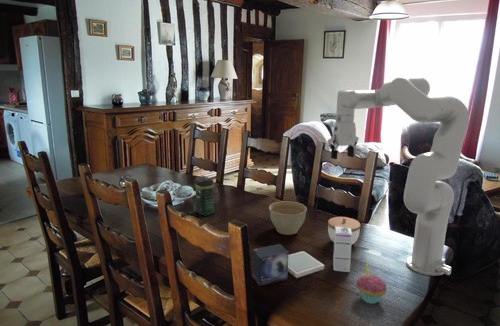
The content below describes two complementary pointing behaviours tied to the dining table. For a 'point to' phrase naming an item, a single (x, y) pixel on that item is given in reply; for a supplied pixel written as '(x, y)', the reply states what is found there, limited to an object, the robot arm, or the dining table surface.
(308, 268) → the plate
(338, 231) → the syrup box
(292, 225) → the planter bowl
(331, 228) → the lidded bowl
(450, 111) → the robot arm
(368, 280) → the cupcake
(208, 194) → the coffee jar
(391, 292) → the dining table surface
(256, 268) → the small box
